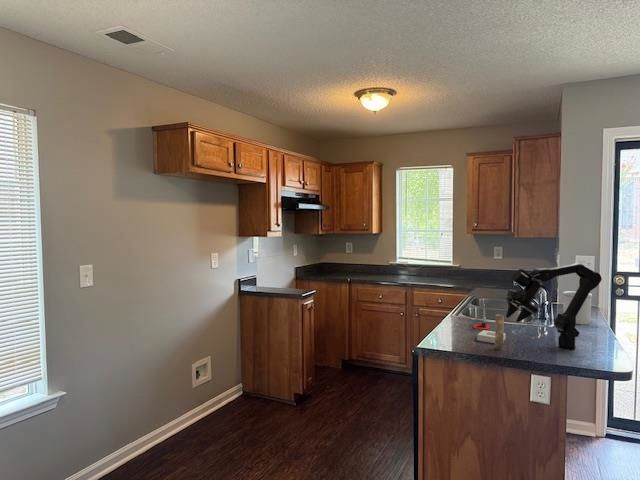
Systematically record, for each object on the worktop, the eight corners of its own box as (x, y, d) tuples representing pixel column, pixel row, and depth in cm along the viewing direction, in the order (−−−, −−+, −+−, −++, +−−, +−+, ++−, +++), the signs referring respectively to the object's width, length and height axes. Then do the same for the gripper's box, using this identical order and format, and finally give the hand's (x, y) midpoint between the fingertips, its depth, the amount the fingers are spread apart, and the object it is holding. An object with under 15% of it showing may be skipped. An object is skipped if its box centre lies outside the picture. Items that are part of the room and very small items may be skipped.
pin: (503, 348, 205) (504, 315, 204) (502, 350, 202) (502, 316, 201) (496, 347, 207) (496, 314, 206) (494, 349, 204) (494, 315, 204)
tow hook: (485, 331, 238) (492, 327, 245) (485, 308, 237) (491, 305, 244) (470, 329, 244) (477, 325, 251) (470, 306, 243) (477, 303, 250)
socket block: (505, 339, 221) (505, 333, 221) (500, 344, 212) (500, 338, 212) (483, 335, 228) (483, 330, 228) (477, 340, 219) (477, 334, 219)
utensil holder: (564, 318, 270) (564, 290, 269) (592, 321, 261) (592, 292, 260) (560, 322, 258) (561, 293, 257) (590, 326, 249) (591, 296, 248)
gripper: (506, 280, 213) (489, 306, 213) (527, 285, 194) (508, 315, 194) (524, 292, 214) (507, 318, 214) (546, 299, 195) (527, 328, 195)
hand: (511, 319), depth 204 cm, fingers open, 9 cm apart
